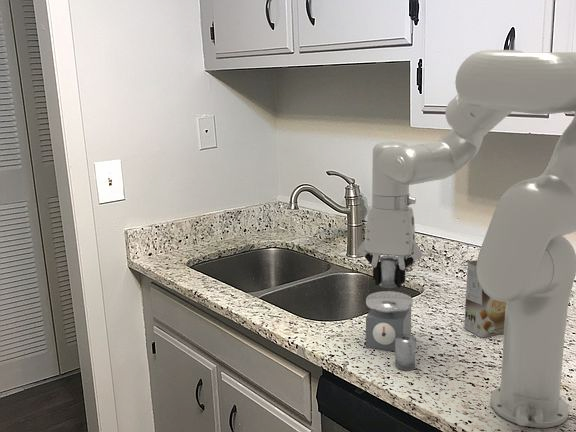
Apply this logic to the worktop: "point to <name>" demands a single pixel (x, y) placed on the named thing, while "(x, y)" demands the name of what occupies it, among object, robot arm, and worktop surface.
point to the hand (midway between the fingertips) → (388, 283)
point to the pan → (389, 301)
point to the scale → (386, 328)
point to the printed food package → (482, 308)
